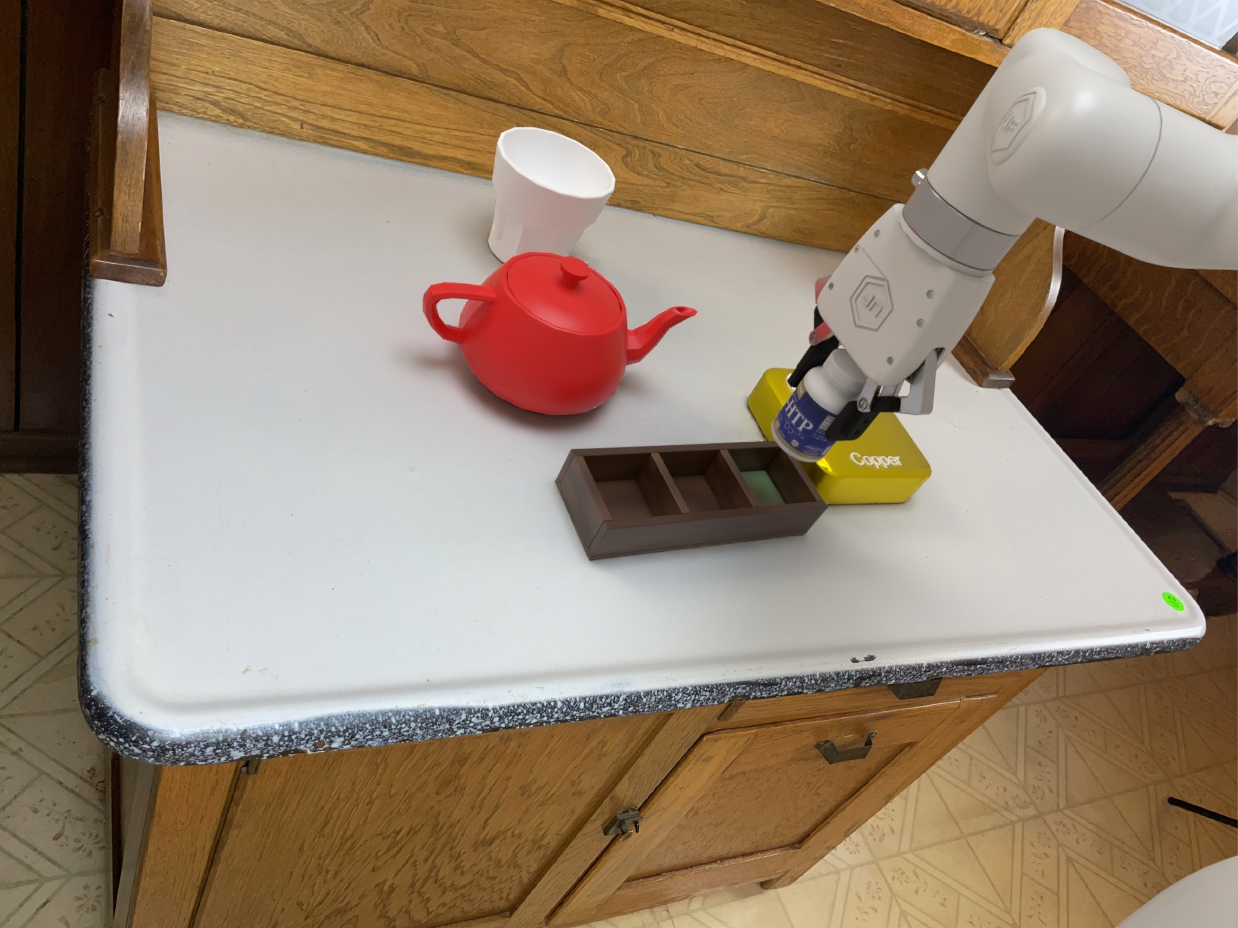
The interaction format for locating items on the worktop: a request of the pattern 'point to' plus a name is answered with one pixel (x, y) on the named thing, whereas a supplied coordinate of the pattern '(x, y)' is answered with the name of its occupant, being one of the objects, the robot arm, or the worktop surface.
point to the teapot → (547, 332)
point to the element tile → (851, 452)
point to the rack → (685, 496)
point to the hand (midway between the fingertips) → (820, 409)
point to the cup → (545, 192)
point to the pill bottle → (817, 406)
